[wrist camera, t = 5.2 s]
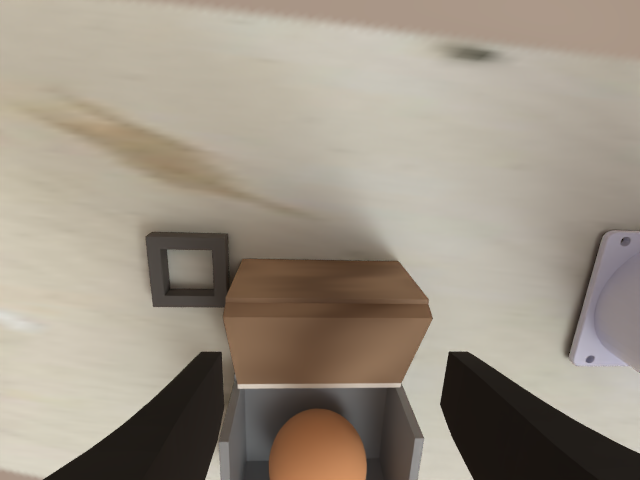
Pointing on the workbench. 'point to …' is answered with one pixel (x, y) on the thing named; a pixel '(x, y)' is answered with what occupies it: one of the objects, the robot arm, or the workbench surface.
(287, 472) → the ball
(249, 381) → the ramp
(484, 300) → the workbench surface
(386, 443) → the gray open storage bin
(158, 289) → the dark gray picture frame
